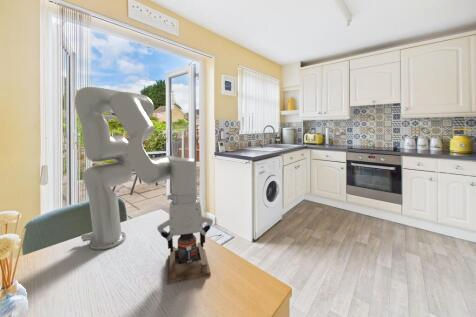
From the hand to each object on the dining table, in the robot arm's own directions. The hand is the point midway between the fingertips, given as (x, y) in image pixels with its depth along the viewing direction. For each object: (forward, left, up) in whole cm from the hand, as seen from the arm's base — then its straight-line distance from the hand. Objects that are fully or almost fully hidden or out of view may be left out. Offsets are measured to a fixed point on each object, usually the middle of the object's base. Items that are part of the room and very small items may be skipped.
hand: (187, 247), depth 69 cm
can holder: (0, 0, -7) cm, 7 cm away
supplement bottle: (0, 0, -6) cm, 6 cm away
